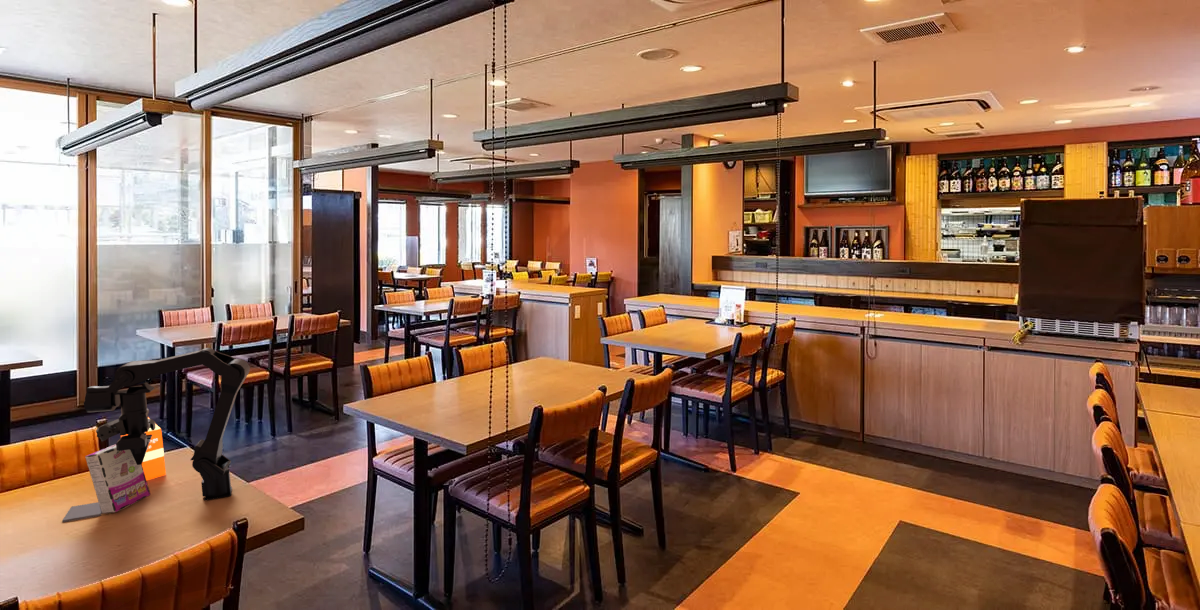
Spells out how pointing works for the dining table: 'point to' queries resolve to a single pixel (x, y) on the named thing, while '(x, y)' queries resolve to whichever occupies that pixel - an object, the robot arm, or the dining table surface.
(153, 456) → the orange juice
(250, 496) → the dining table surface
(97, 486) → the candy bar box
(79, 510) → the mat
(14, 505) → the dining table surface
